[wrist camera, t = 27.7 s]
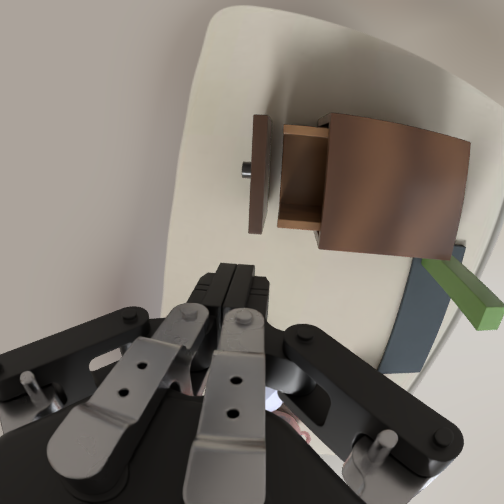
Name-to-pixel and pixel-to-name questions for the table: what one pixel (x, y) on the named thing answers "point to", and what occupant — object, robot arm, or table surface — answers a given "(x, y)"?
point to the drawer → (288, 175)
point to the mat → (416, 320)
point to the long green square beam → (467, 292)
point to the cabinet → (391, 188)
